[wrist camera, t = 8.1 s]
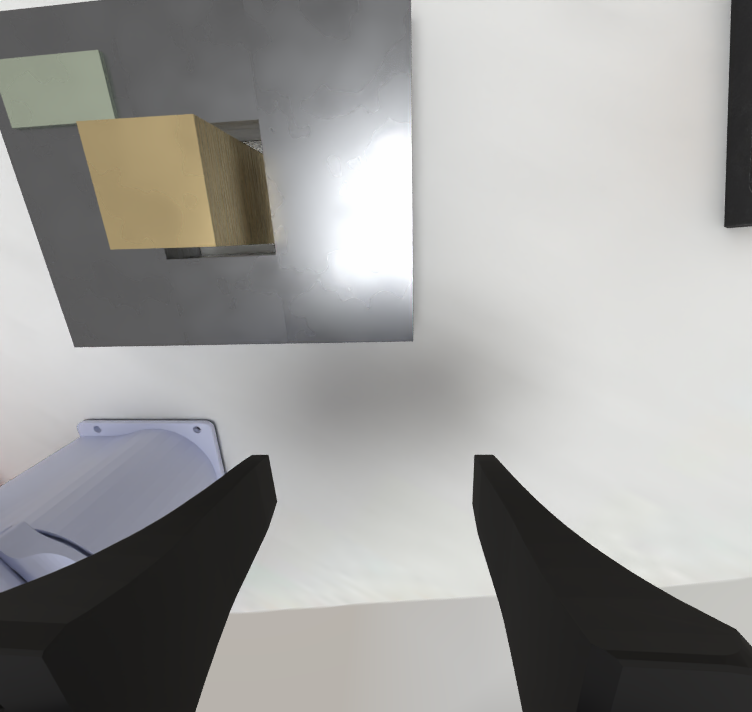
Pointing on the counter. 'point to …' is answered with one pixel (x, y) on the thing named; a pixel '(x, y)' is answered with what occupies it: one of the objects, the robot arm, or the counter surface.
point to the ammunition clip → (739, 119)
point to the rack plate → (245, 123)
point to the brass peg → (176, 183)
